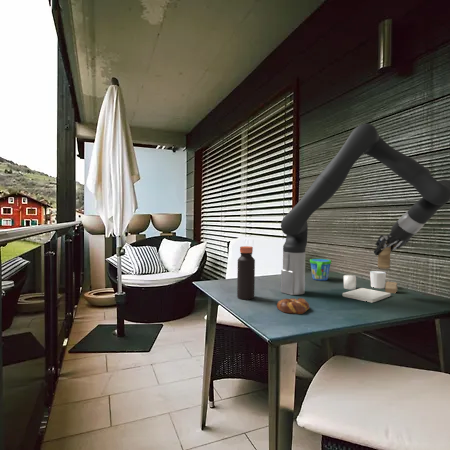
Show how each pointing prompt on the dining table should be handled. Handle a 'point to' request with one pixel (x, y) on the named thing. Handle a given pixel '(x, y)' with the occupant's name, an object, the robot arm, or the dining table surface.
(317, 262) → the snack cup
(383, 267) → the pepper mill
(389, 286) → the wooden block
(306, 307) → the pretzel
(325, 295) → the dining table surface
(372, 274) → the white tapered cylinder
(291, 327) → the dining table surface
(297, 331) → the dining table surface
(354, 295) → the stone tile
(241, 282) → the bottle
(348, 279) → the white rounded cylinder
